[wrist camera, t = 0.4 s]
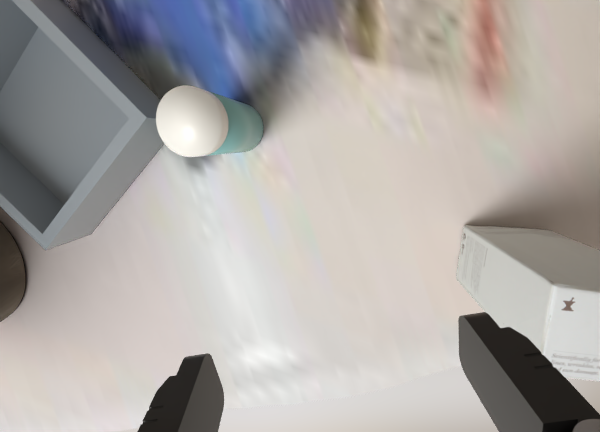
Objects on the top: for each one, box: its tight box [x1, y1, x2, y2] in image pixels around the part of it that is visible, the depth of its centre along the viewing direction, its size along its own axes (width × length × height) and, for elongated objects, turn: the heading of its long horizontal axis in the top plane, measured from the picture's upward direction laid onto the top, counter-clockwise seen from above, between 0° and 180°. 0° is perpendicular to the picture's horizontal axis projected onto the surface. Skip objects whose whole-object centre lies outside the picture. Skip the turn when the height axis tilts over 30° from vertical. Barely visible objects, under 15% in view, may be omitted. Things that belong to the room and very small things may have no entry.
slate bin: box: [0, 0, 164, 250], centre depth 34 cm, size 18×18×6 cm
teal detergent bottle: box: [156, 85, 263, 157], centre depth 28 cm, size 5×5×11 cm
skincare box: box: [456, 225, 600, 381], centre depth 25 cm, size 8×6×15 cm
